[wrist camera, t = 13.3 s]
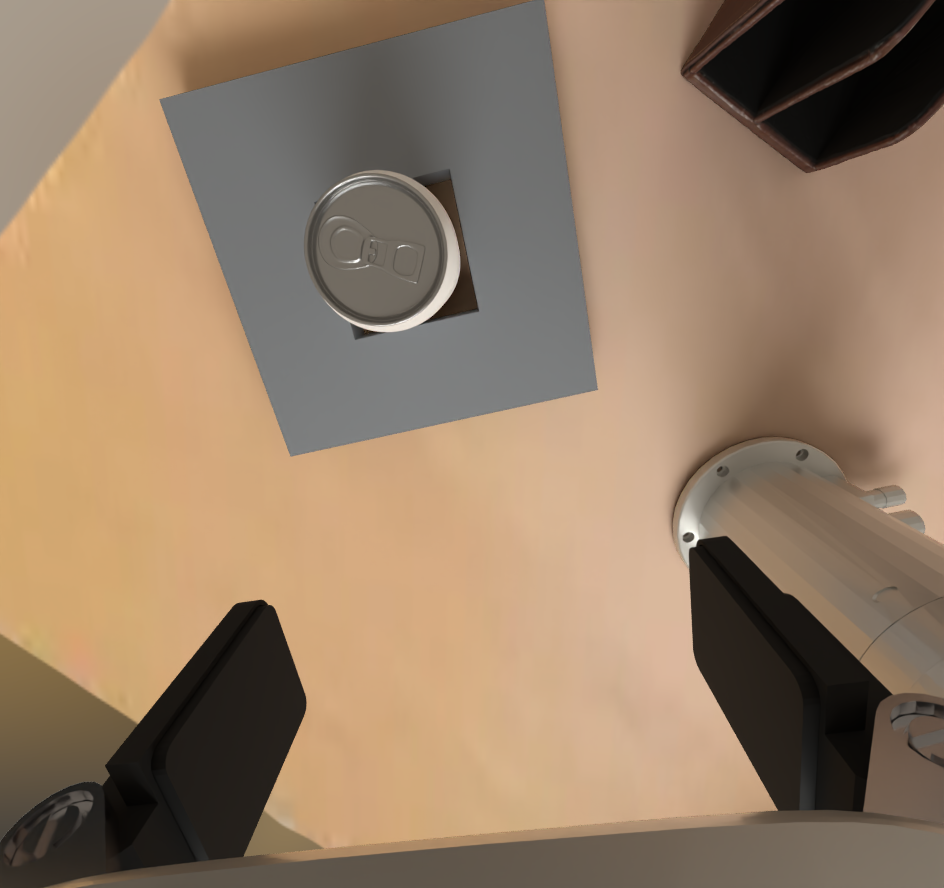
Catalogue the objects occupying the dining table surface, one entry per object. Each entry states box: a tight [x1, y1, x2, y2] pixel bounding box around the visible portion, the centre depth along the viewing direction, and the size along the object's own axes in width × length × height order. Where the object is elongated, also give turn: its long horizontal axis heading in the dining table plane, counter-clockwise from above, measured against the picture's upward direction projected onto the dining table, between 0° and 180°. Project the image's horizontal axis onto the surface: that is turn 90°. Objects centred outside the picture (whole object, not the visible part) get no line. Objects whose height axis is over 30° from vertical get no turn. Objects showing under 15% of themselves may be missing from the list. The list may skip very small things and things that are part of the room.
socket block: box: [159, 0, 598, 456], centre depth 29 cm, size 20×20×3 cm
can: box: [304, 170, 460, 332], centre depth 24 cm, size 6×6×12 cm
